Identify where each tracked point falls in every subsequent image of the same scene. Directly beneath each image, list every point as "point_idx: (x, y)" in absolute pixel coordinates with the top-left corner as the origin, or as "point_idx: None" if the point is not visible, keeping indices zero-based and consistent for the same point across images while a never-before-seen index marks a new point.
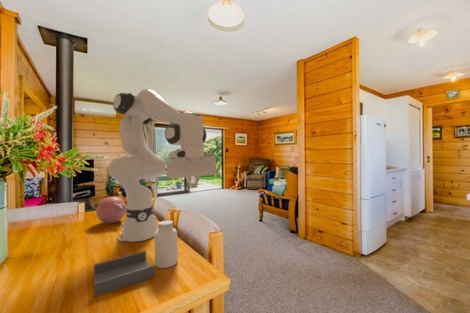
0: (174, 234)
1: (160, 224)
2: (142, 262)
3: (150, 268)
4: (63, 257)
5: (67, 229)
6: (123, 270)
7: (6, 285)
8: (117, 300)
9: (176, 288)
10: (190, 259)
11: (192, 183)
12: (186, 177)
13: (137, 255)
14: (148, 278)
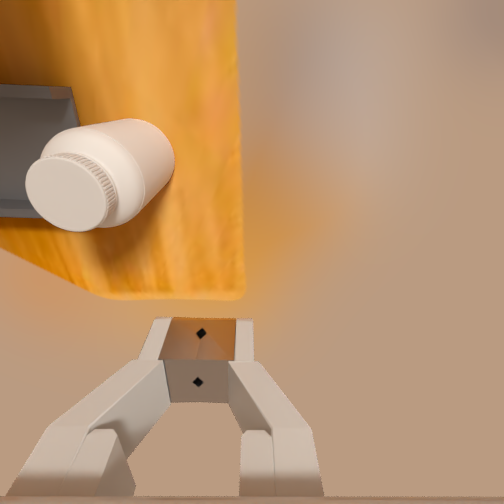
0: (127, 221)
1: (38, 211)
2: (59, 110)
3: None
4: None
5: None
6: (3, 126)
7: None
8: (27, 243)
9: (146, 274)
10: (213, 182)
11: (186, 385)
12: (29, 492)
13: (23, 97)
14: None
